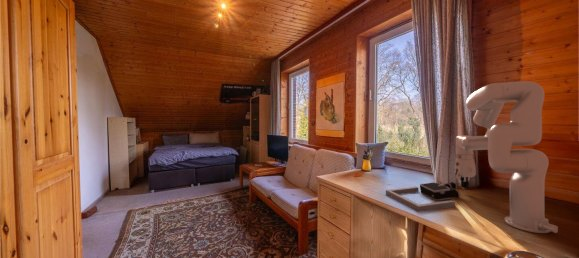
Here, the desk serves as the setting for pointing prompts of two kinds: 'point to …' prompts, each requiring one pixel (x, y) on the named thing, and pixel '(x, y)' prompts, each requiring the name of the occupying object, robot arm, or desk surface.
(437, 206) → the stand
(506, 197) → the desk surface
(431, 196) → the film camera
